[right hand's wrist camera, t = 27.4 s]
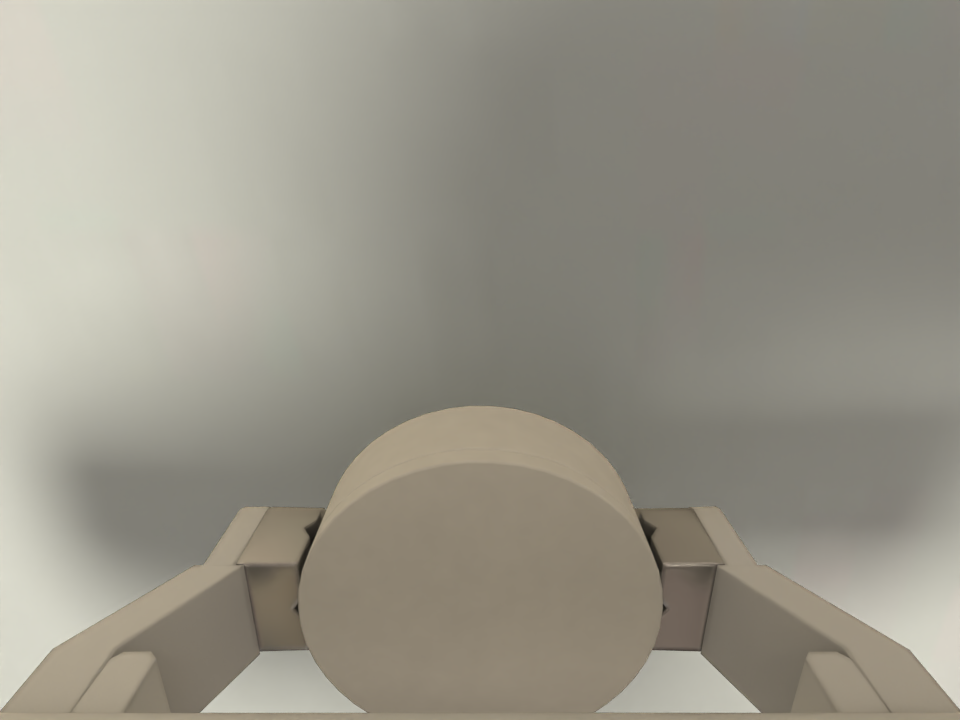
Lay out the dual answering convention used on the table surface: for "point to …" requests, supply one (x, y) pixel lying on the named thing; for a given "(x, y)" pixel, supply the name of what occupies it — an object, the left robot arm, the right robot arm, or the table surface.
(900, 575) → the table surface
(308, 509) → the right robot arm
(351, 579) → the lid
